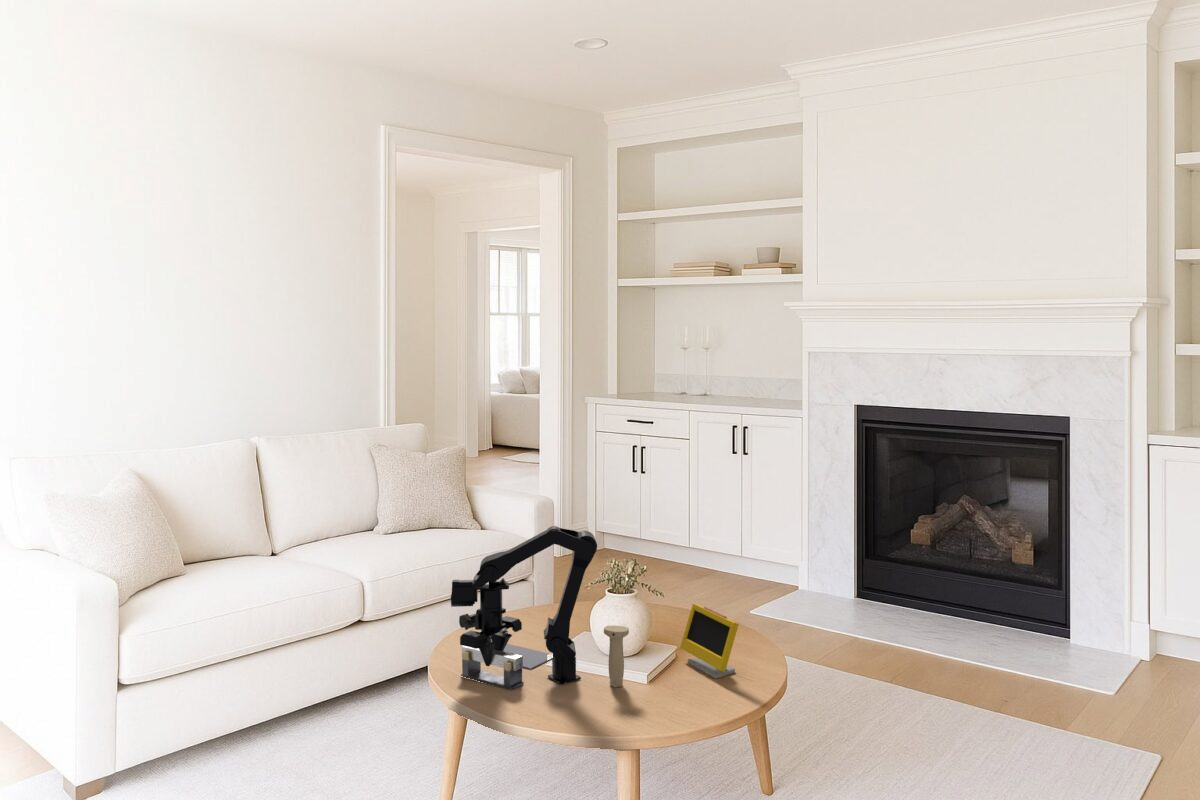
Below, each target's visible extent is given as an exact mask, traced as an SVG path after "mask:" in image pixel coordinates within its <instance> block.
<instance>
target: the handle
mask: <svg viewBox="0 0 1200 800" xmlns="http://www.w3.org/2000/svg"><path fill="white" fill-rule="evenodd" d="M629 633H630V630H629V627H627V626H623V625H615V624H613V625H606V626H605V627H603V634H604V635H605V636H607V637H609V650H608V651H609V653H608V676H609V685H610V686H611V687H613V688H621V687H622V686H623V684H624V680H623V679H624V675H625V673H624V672H625V659H624V657H625V655H624V638H625V637H627V636H628V635H629Z"/></svg>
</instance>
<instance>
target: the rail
mask: <svg viewBox="0 0 1200 800" xmlns="http://www.w3.org/2000/svg"><path fill="white" fill-rule="evenodd" d="M463 651H465V652H469V659H471V660H475V661H479V662H481V663H484V664H485V662H484V660H483V657H482V654H481V652H480V650H479V648H476V649H475V648H471V647H467V646H463V645H461V653H462V652H463ZM505 661H506V662H510V663H511V670H514V671H516V670H518V669H520V668H522V667H523V656H521V655H517V654H513V653H509V652H504V651H500V650H496V649H494V650H493V655H492V660H491V663H490V666H496V667H499V668H503V669H504V662H505ZM522 669H523V668H522Z"/></svg>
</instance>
